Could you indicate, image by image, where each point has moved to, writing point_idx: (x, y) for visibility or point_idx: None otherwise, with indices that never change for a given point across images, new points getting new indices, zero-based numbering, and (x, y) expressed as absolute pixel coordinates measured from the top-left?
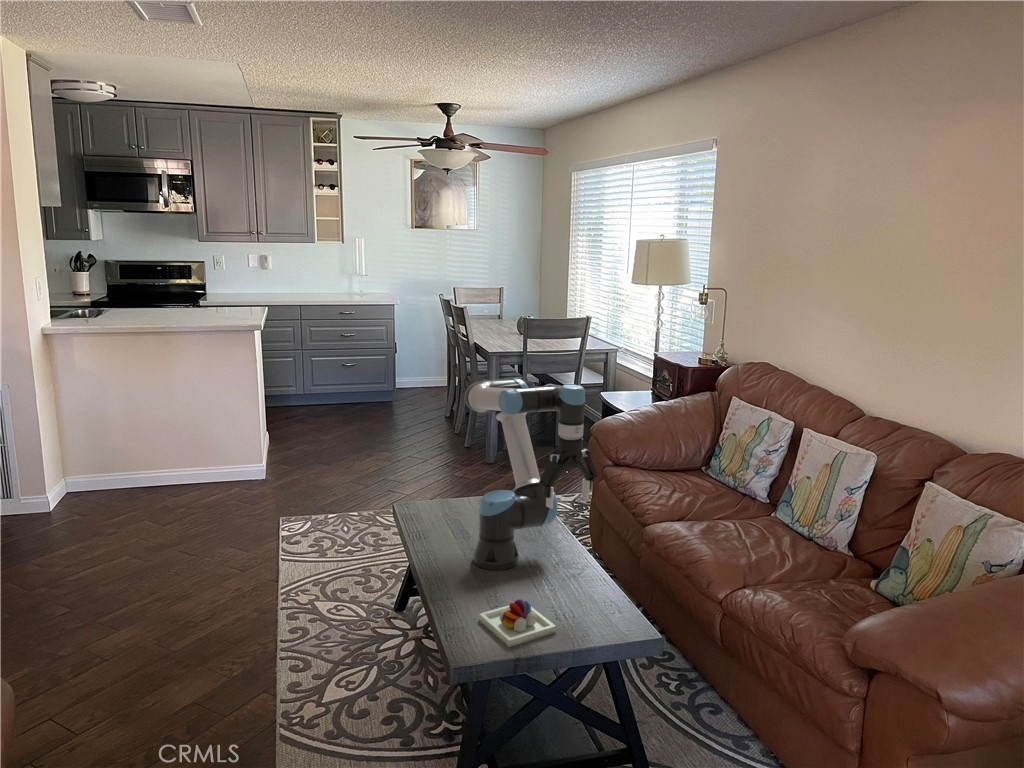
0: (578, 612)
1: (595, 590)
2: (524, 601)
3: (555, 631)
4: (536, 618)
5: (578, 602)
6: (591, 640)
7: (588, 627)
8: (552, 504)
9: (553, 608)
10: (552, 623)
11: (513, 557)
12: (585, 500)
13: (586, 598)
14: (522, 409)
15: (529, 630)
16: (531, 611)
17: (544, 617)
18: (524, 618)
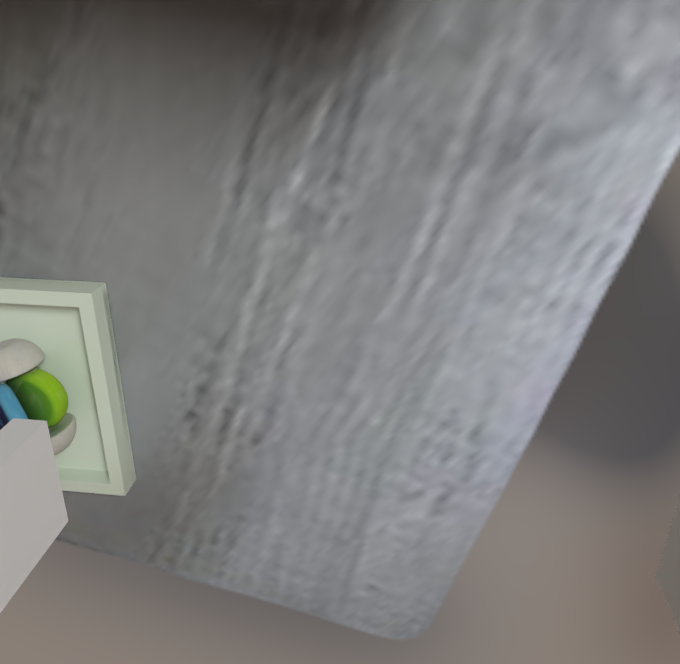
0: (292, 426)
1: (489, 330)
2: (7, 418)
3: (133, 482)
4: (64, 449)
5: (344, 370)
6: (222, 564)
7: (261, 512)
8: (25, 561)
9: (218, 353)
10: (122, 478)
11: None
12: (663, 550)
13: (398, 363)
14: None
15: None
16: (58, 415)
17: (114, 435)
18: None
